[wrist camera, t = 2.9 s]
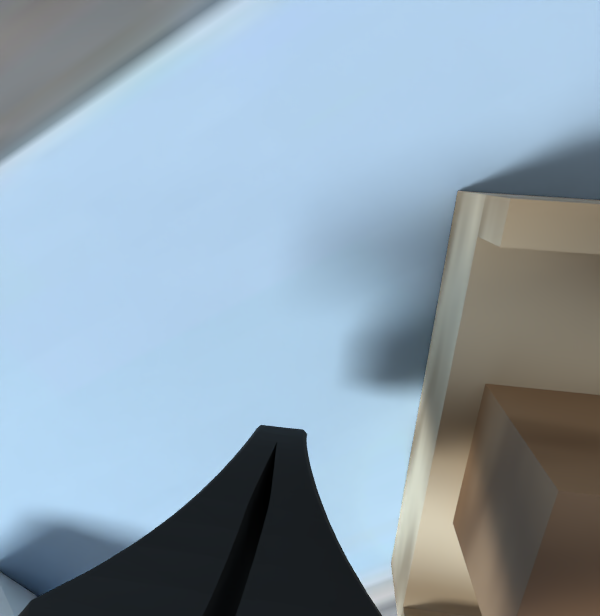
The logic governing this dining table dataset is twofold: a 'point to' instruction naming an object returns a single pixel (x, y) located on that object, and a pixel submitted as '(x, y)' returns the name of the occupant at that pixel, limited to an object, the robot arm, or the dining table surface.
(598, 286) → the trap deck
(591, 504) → the walnut block
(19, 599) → the die
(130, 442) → the dining table surface
